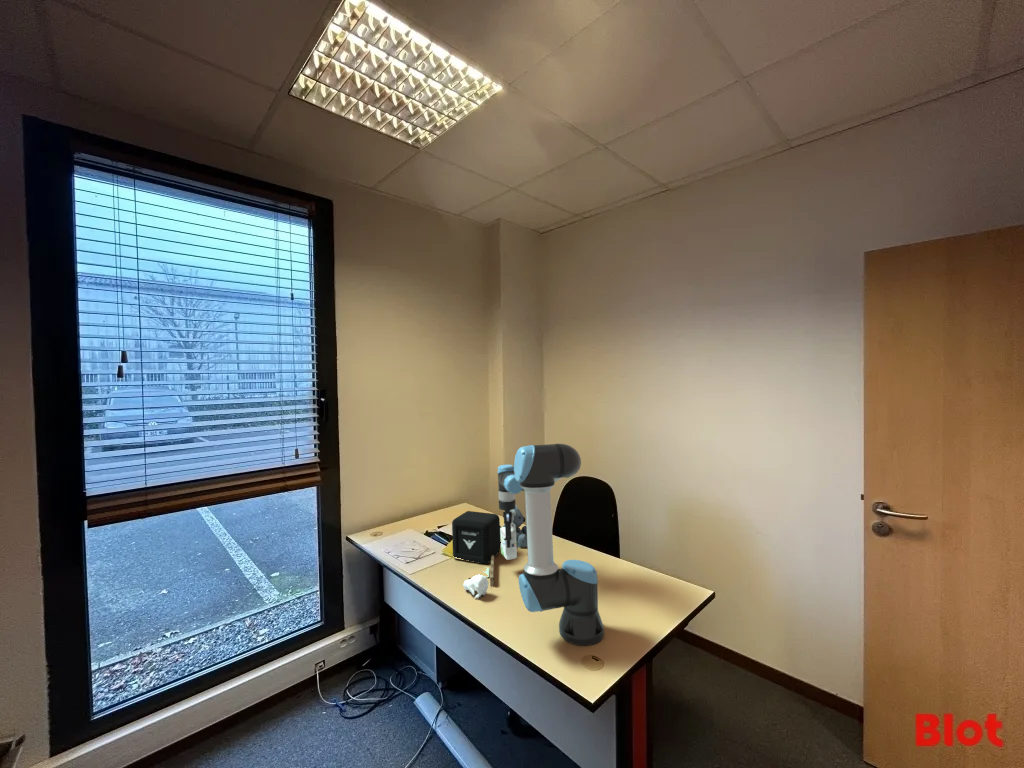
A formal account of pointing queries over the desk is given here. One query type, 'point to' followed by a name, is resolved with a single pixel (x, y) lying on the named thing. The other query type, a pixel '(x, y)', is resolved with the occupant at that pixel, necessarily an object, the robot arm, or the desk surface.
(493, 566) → the rail
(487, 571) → the pad
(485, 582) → the white lumpy piece
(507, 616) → the desk surface
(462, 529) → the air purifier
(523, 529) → the koala plush
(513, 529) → the ink box
